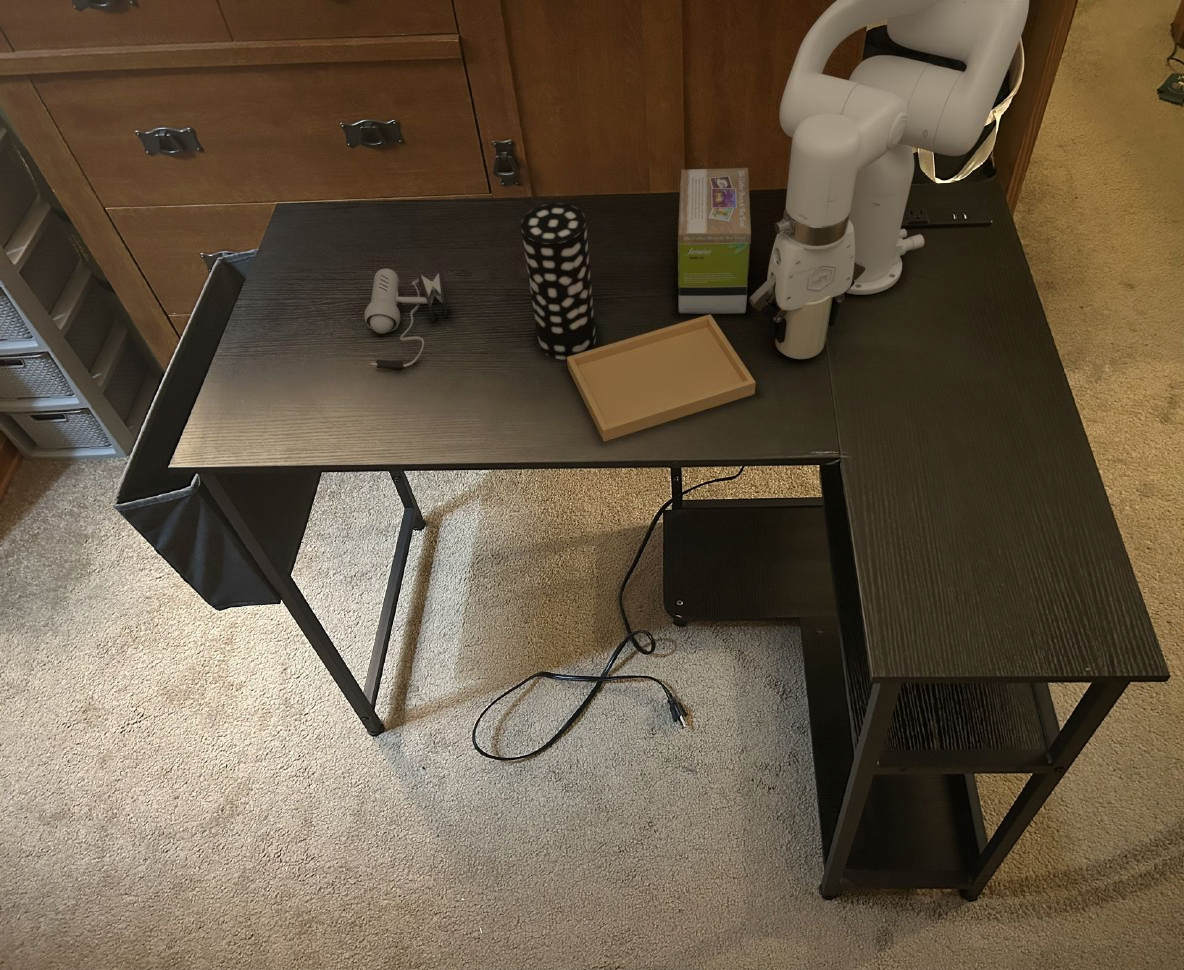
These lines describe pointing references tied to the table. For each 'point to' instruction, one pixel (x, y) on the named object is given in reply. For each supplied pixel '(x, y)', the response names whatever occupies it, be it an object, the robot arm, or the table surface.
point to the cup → (806, 329)
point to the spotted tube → (559, 279)
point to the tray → (659, 377)
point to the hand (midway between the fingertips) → (801, 327)
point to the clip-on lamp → (386, 313)
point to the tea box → (713, 241)
